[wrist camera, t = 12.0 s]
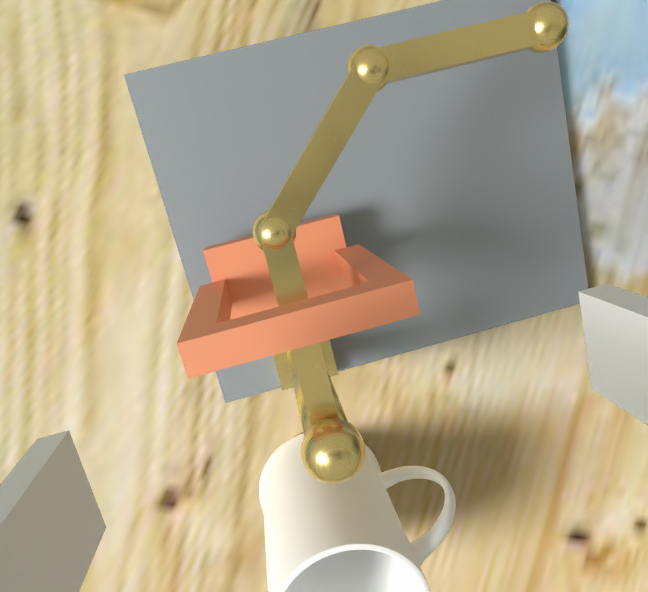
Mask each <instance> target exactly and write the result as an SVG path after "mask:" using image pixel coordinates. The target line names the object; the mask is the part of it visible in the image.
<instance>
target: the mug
mask: <svg viewBox="0 0 648 592" xmlns="http://www.w3.org/2000/svg"><path fill="white" fill-rule="evenodd" d="M303 438H304V433H302V434H299V435H297V436H295V437H293V438H291V439H289V440H288V441H286V442H285V443H283V444H282V445H281V446H280V447H279V448H278V449H277V450H276V451H275V452H274V453H273V454H272V455H271V457H270V458H269V460H268V461H267V463H266V465H265V467H264V469H263V471H262V474H261V478H260V484H259V497H260V503H261V506H262V509H263V512H264V524H265V543H266V562H267V581H268V592H430V591H429V587H428V584H427V582H426V579H425V577H424V574H423V572H422V570H421V568H420V566H421V565H422V563H423V562H424V560H425V559H426V558H427V557H428V556H429V555H430V554H431V553H432V552H433V551H434V550H435V549H436V548H437V547H438V546H439V545H440V543H441V542H442V541H443V539H444V538H445V536H446V535H447V533H448V531H449V529H450V527H451V525H452V523H453V520H454V516H455V510H456V500H455V495H454V492H453V489H452V487H451V485H450V483H449V482H448V481H447V479H446V478H445V477H444V476H443V475H442V474H440V473H439V472H438V471H436V470H434V469H431V468H428V467H424V466H403V467H398V468H394V469H390V470H387V471H384V472H381V469H380V466H379V463H378V461H377V459H376V457H375V455H374V454H373V452H372V451H371V450H370V448H369V447H368V446H367V445H366V444H365V443H364V444H365V459H364V462H363V465H362V467H361V469H360V470H359V472H358V473H357V474H356V475H355V476H354V477H353V478H352V479H350V480H349V481H347V482H345V483H342V484H336V485H330V484H325V483H322V482H320V481H318V480H316V479H315V478H313V477H312V476H311V475H310V474H309V473H308V471H307V470H306V468H305V466H304V464H303V461H302V457H301V446H302V441H303ZM409 479H428V480H432V481H434V482H436V483H438V484H439V485H441V486H442V488H443V489H444V493H445V501H444V506H443V509H442V511H441V514H440V515H439V517H438V519H437V520H436V522H435V523H434V524H433V526H432V527H431V528H430V529H429V530H428V531H427V532H426V533H425V534H424V535H423V536H421V537H420V538H418V539H417V540H415V541H413V542H411V543H409V540H408V538H407V536H406V533H405V531H404V529H403V527H402V524H401V522H400V520H399V518H398V515H397V513H396V511H395V508H394V506H393V504H392V502H391V499H390V497H389V495H388V492H387V490H386V489H388V488H389V487H390V486H392V485H394V484H396V483H398V482H401V481H404V480H409Z"/></svg>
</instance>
